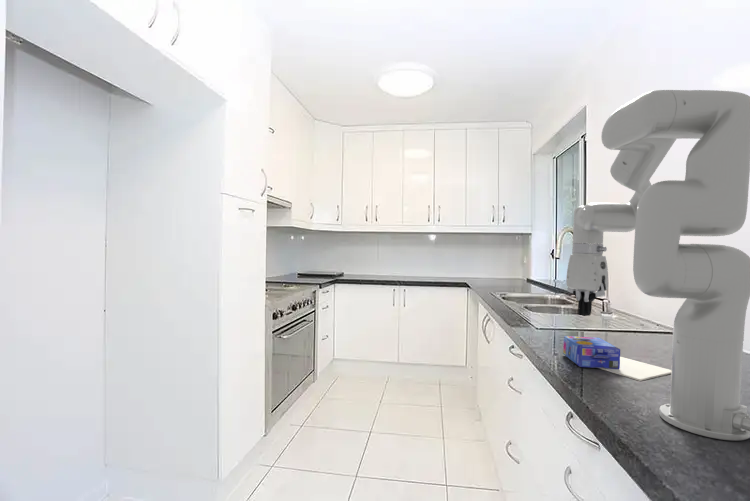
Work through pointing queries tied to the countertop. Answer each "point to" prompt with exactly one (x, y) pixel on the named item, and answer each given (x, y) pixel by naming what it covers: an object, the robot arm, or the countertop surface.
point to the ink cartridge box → (591, 352)
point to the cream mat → (638, 370)
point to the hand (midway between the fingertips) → (584, 315)
